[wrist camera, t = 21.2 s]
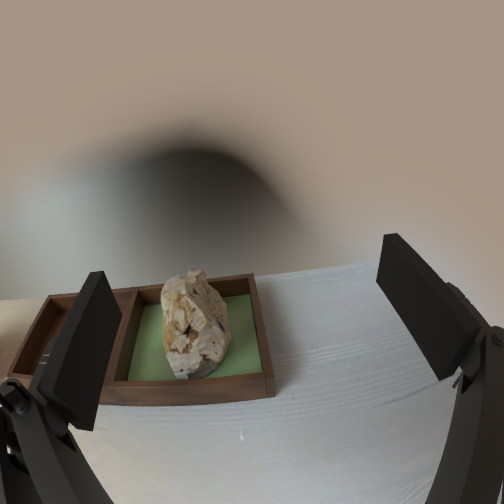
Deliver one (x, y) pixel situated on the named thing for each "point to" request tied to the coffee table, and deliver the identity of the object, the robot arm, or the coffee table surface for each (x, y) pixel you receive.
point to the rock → (194, 325)
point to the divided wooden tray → (154, 353)
